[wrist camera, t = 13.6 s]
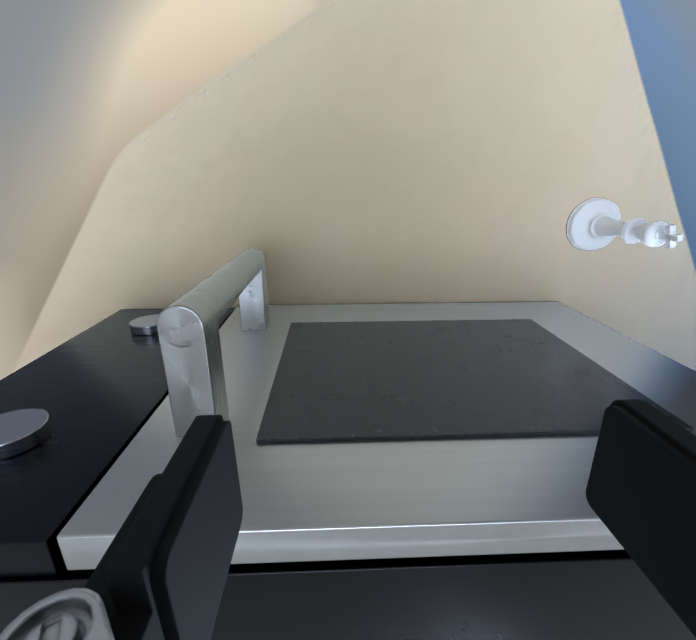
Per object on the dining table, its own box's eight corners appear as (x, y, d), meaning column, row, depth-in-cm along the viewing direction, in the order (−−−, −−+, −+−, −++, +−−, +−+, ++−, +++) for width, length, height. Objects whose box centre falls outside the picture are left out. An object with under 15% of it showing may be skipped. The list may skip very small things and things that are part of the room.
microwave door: (231, 239, 36) (-5, 362, 11) (570, 236, 37) (1071, 343, 12) (239, 320, 39) (66, 571, 13) (555, 316, 40) (940, 539, 15)
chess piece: (569, 256, 38) (647, 280, 29) (563, 207, 36) (644, 214, 27) (618, 241, 38) (714, 259, 28) (615, 190, 36) (715, 192, 27)
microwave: (120, 300, 38) (-322, 540, 12) (558, 295, 39) (977, 497, 14) (174, 565, 49) (6, 969, 24) (510, 552, 51) (689, 918, 25)
